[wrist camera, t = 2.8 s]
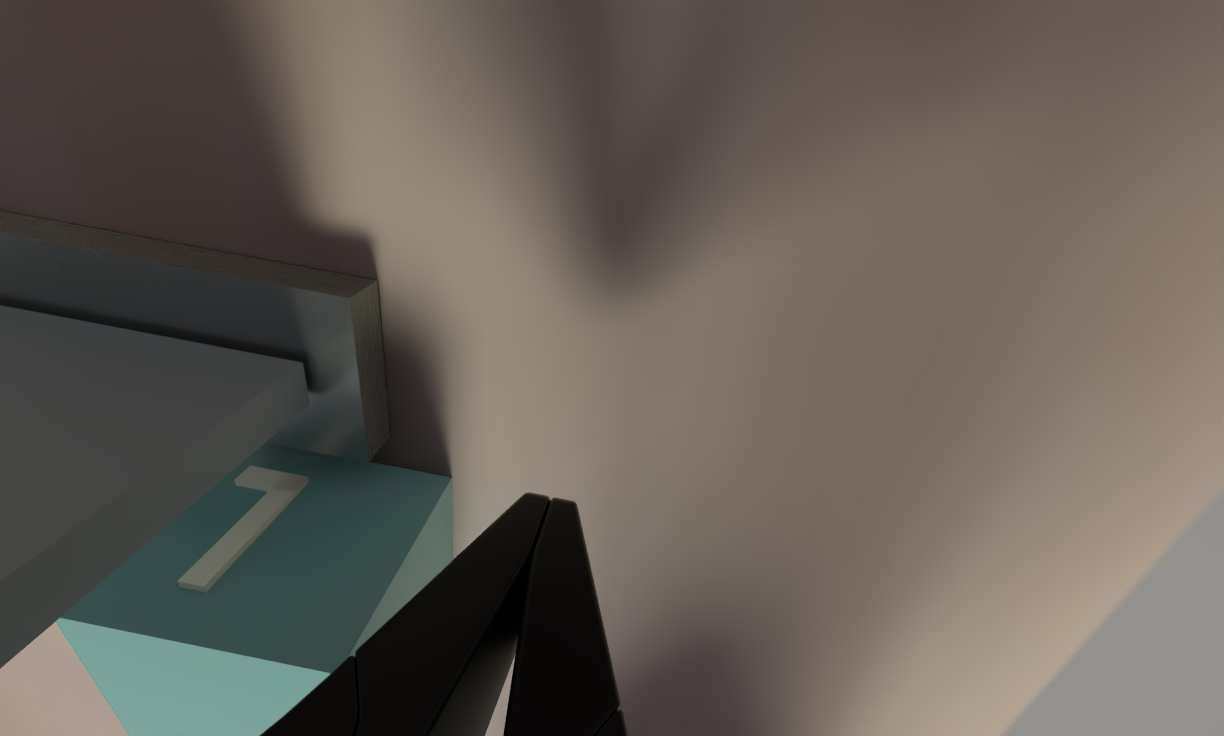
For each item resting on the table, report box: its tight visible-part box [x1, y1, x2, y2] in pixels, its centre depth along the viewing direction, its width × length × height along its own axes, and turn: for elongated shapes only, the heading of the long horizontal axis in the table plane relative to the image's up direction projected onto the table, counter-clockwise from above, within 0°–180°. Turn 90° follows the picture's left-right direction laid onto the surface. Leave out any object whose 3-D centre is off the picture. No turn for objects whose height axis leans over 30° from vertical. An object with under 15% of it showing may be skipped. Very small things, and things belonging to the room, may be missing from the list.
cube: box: [55, 443, 452, 736], centre depth 12 cm, size 5×5×5 cm
